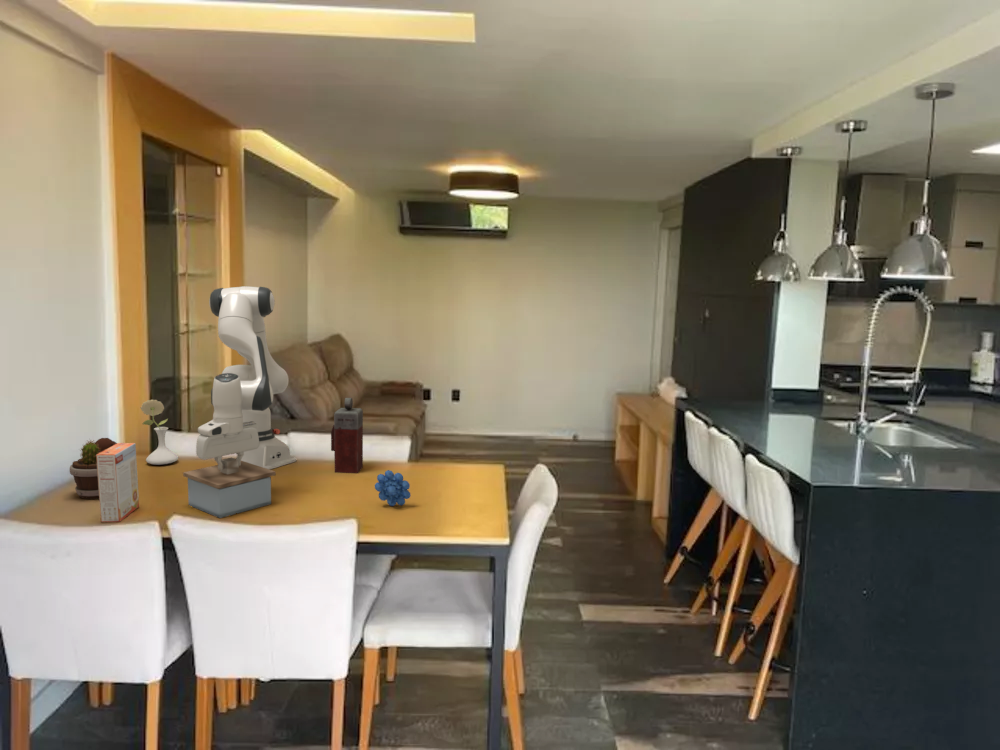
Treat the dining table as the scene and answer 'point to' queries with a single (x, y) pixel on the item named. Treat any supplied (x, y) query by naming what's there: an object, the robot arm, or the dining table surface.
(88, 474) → the flowerpot
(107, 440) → the ice cream bowl
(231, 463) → the lid
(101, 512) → the cracker box
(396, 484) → the blue knobby flower shape
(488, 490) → the dining table surface
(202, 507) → the bin
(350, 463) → the red grey canister
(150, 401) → the flower in vase
